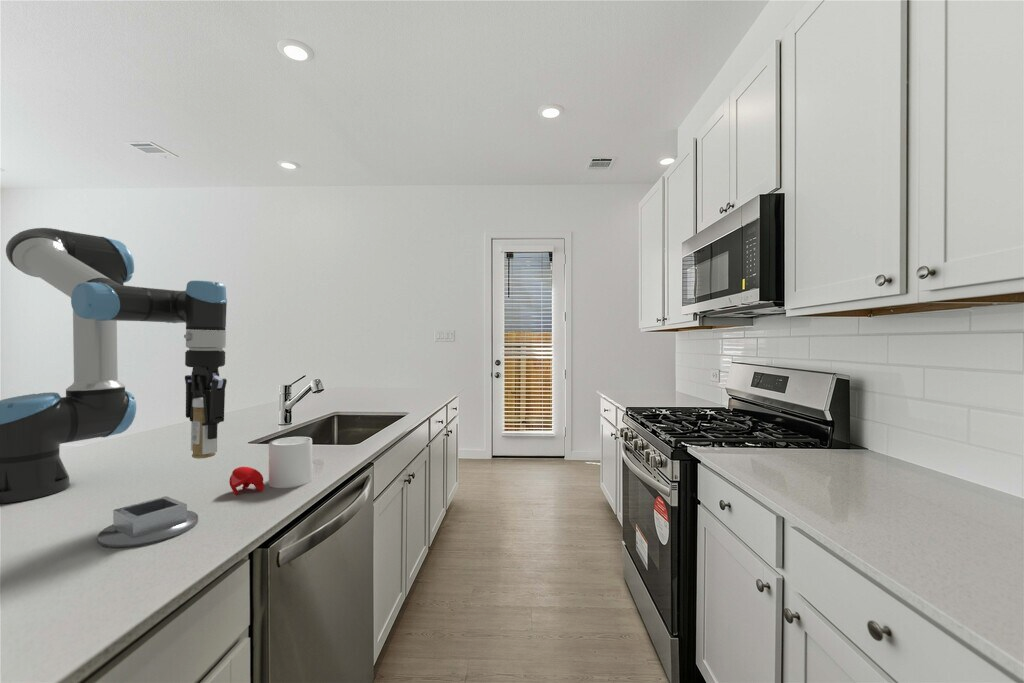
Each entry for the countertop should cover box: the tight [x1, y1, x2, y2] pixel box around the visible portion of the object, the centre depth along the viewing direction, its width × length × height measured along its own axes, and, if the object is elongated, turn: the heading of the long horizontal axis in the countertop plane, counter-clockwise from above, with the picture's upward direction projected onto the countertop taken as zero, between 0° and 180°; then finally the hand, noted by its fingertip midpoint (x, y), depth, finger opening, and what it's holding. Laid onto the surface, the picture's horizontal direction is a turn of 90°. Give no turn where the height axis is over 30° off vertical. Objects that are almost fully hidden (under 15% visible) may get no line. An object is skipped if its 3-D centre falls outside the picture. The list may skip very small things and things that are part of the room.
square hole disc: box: [97, 495, 199, 549], centre depth 86 cm, size 15×15×4 cm
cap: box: [228, 466, 265, 496], centre depth 108 cm, size 8×6×6 cm
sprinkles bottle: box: [191, 397, 217, 460], centre depth 101 cm, size 5×5×13 cm
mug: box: [268, 436, 313, 489], centre depth 117 cm, size 14×10×11 cm
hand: (203, 450), depth 101 cm, fingers closed on sprinkles bottle, 4 cm apart
